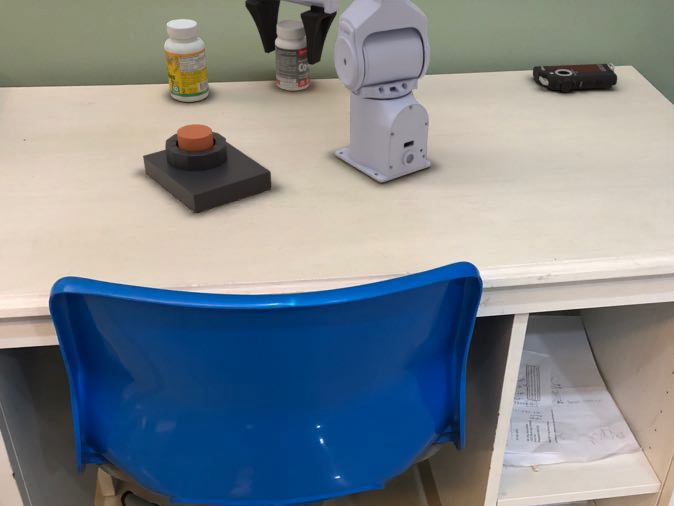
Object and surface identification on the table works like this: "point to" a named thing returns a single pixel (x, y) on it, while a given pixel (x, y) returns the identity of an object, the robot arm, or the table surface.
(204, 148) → the orange push button
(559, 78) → the camera
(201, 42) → the supplement bottle
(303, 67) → the pill bottle
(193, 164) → the block
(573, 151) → the table surface
